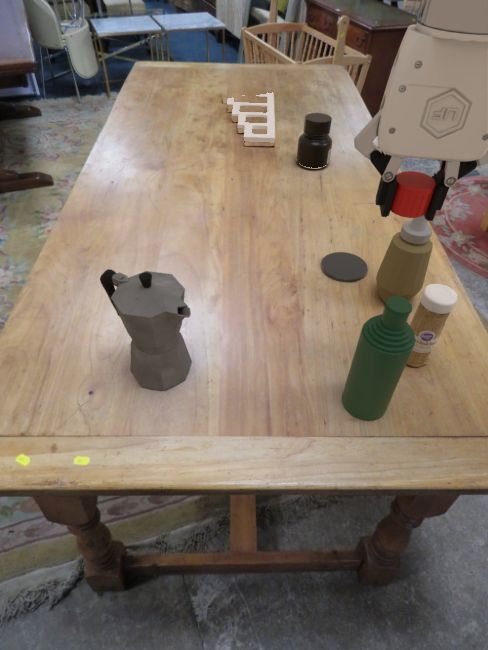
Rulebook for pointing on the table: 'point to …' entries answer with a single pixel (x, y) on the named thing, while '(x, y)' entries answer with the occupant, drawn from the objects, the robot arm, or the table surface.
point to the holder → (249, 126)
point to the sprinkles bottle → (430, 321)
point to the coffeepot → (152, 325)
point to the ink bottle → (315, 141)
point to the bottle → (379, 360)
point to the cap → (412, 194)
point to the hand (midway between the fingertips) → (405, 211)
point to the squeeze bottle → (405, 261)
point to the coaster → (344, 267)
